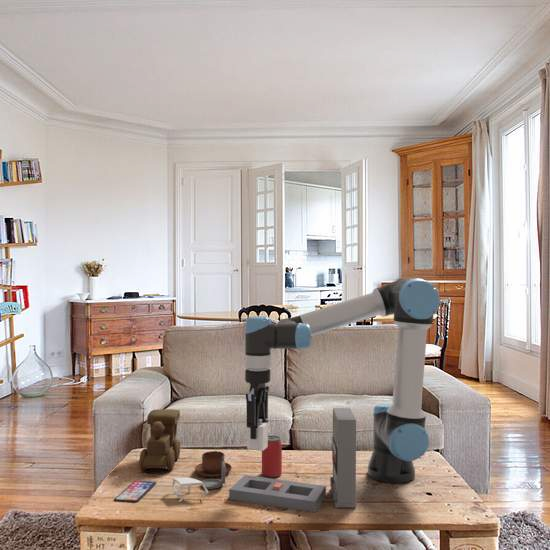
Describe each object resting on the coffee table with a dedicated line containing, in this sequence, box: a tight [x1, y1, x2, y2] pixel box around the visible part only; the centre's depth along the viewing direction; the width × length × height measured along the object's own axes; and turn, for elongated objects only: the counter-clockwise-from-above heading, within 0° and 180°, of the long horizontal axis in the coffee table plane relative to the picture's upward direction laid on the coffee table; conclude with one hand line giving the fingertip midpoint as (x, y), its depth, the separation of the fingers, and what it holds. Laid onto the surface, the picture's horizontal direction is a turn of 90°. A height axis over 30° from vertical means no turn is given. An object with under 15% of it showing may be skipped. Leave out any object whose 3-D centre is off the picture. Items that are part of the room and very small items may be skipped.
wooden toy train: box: [138, 408, 181, 472], centre depth 194 cm, size 20×11×17 cm, turn 0°
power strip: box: [228, 474, 327, 513], centre depth 166 cm, size 26×12×4 cm, turn 71°
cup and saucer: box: [194, 450, 232, 478], centre depth 186 cm, size 12×12×6 cm
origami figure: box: [171, 476, 209, 503], centre depth 166 cm, size 12×8×5 cm
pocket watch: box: [200, 452, 226, 490], centre depth 175 cm, size 8×8×10 cm
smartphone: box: [113, 480, 157, 504], centre depth 170 cm, size 8×1×15 cm
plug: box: [246, 418, 269, 452], centre depth 168 cm, size 5×4×8 cm
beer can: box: [261, 435, 283, 478], centre depth 184 cm, size 7×7×12 cm
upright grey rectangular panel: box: [329, 407, 357, 509], centre depth 165 cm, size 14×6×25 cm, turn 0°
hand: (257, 446), depth 168 cm, fingers closed on plug, 4 cm apart
